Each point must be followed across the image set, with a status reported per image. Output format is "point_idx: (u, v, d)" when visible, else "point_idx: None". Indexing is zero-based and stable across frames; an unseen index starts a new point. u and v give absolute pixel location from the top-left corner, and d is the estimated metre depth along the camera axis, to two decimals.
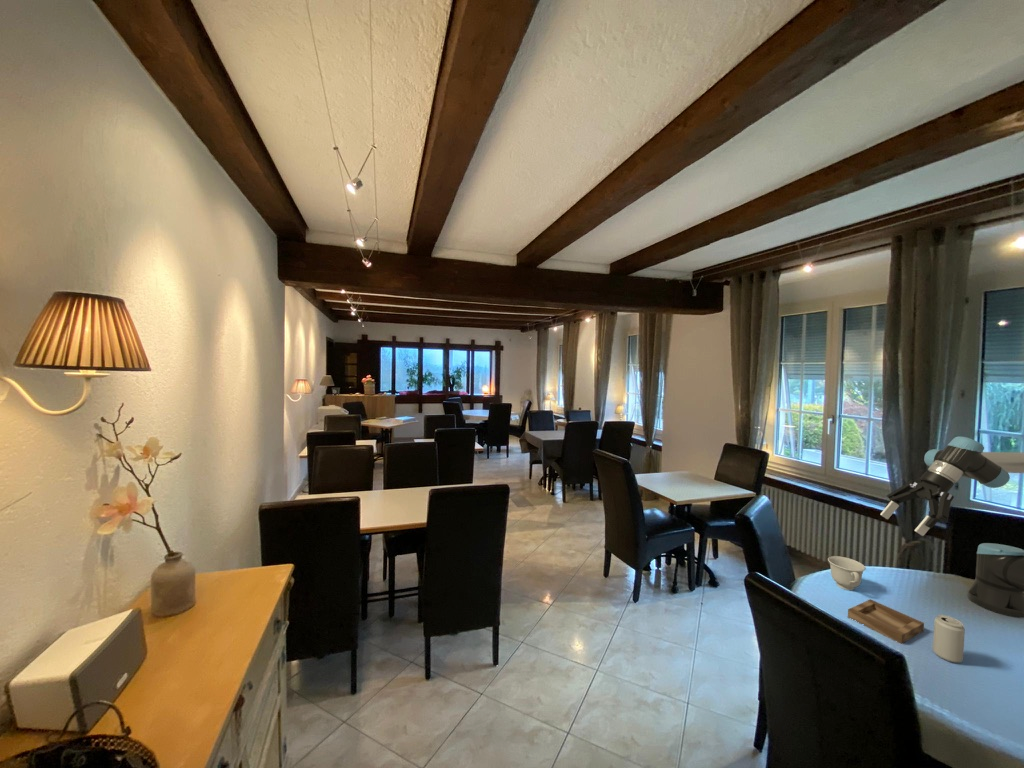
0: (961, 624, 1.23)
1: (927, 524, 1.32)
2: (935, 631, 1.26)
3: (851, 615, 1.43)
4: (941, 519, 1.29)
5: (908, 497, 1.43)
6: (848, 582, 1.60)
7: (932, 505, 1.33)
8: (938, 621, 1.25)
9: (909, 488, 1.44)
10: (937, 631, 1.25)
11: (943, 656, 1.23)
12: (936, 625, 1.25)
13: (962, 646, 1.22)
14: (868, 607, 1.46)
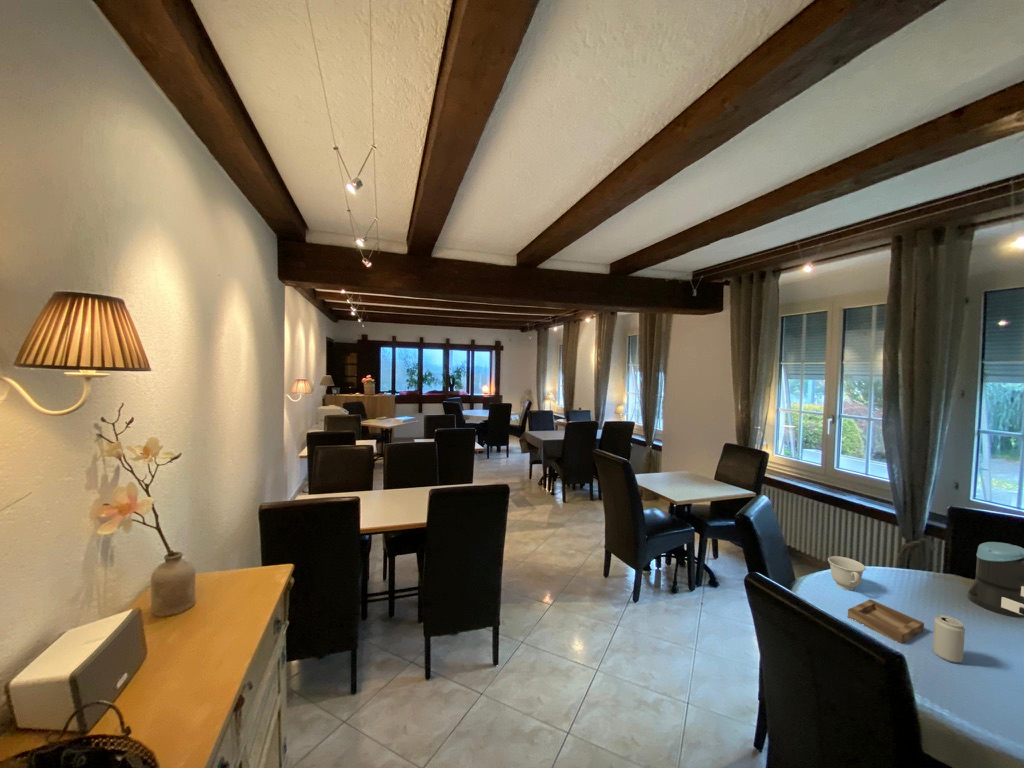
0: (961, 624, 1.23)
1: None
2: (935, 631, 1.26)
3: (851, 615, 1.43)
4: None
5: None
6: (848, 582, 1.60)
7: None
8: (938, 621, 1.25)
9: None
10: (937, 631, 1.25)
11: (943, 656, 1.23)
12: (936, 624, 1.25)
13: (962, 646, 1.22)
14: (868, 607, 1.46)
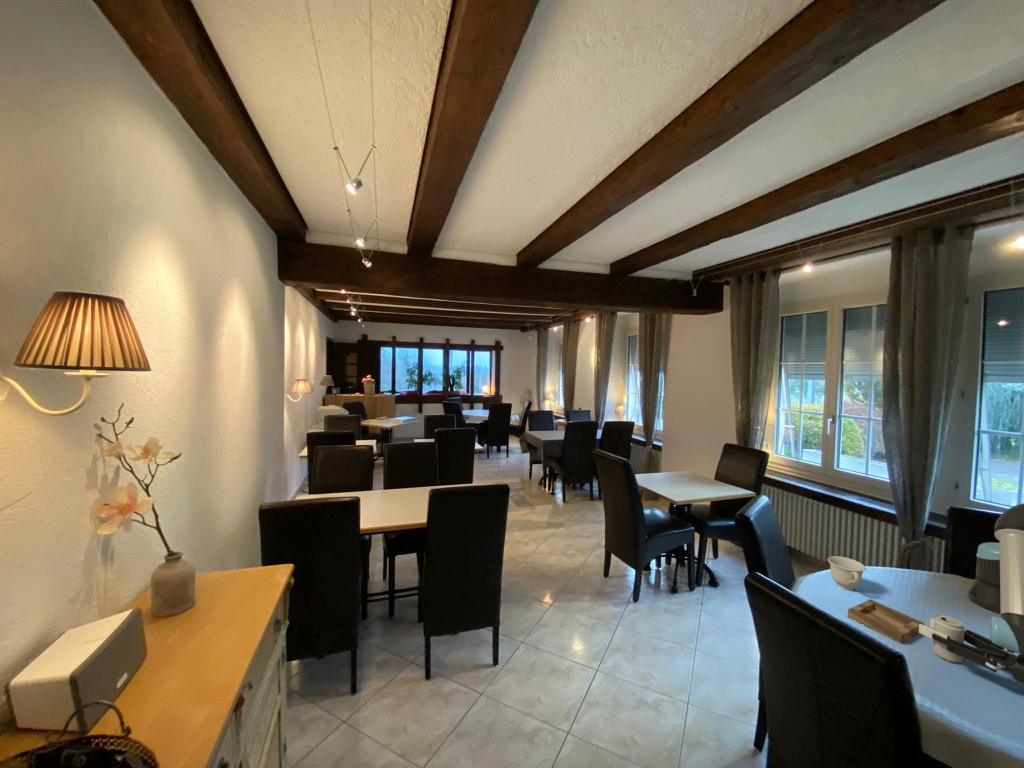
0: (961, 624, 1.23)
1: None
2: None
3: (851, 615, 1.43)
4: None
5: None
6: (848, 582, 1.60)
7: None
8: (938, 621, 1.25)
9: None
10: (937, 631, 1.25)
11: (943, 656, 1.23)
12: (935, 624, 1.25)
13: None
14: (868, 607, 1.46)
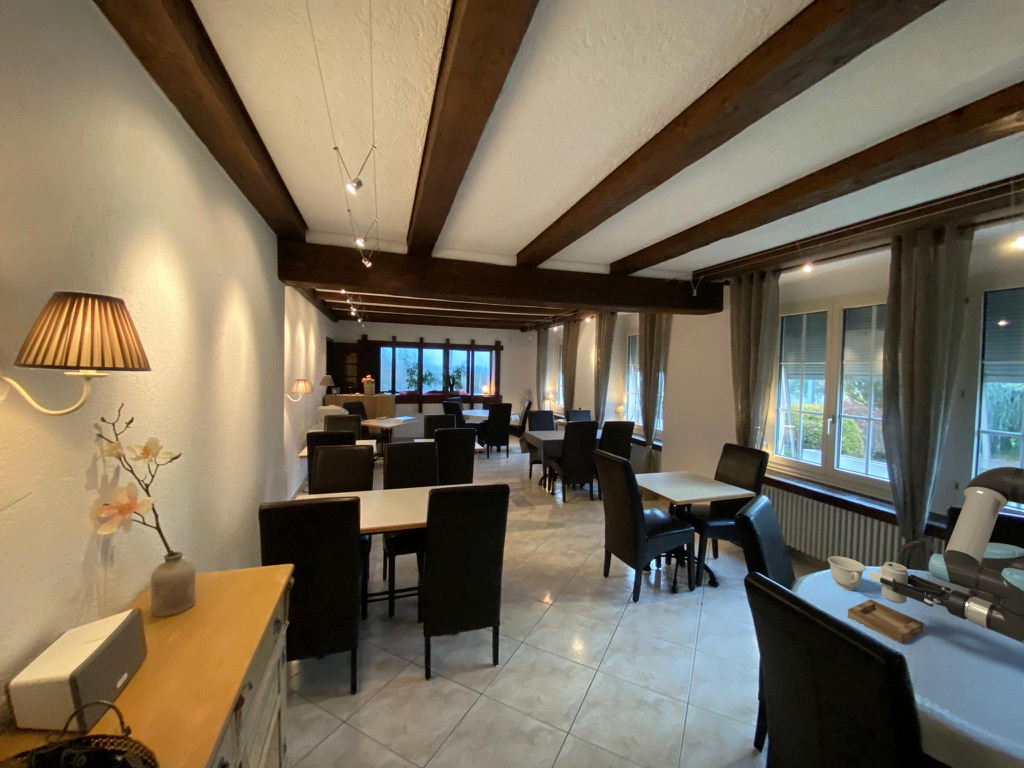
0: (905, 568, 1.35)
1: None
2: None
3: (851, 615, 1.43)
4: None
5: None
6: (848, 582, 1.60)
7: None
8: (885, 567, 1.37)
9: None
10: (885, 575, 1.37)
11: (890, 598, 1.36)
12: (883, 570, 1.38)
13: None
14: (868, 607, 1.46)
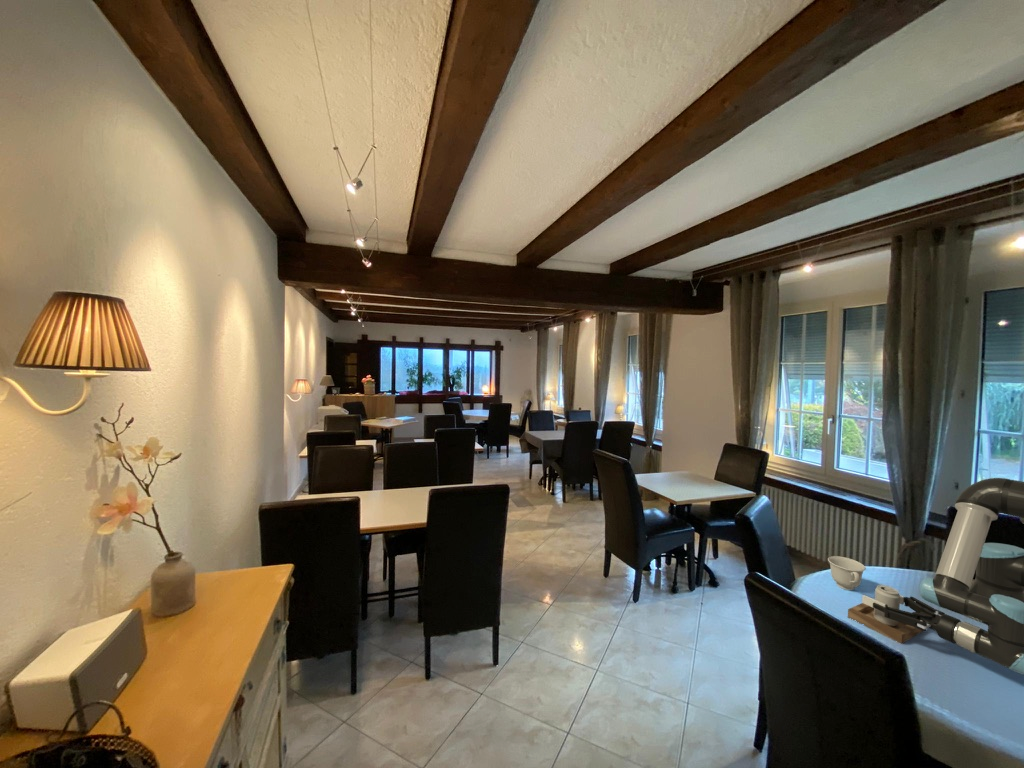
0: (897, 592, 1.38)
1: None
2: (875, 599, 1.41)
3: (851, 615, 1.43)
4: None
5: None
6: (848, 582, 1.60)
7: None
8: (878, 590, 1.40)
9: None
10: (877, 598, 1.40)
11: (882, 621, 1.39)
12: (876, 593, 1.41)
13: None
14: (868, 607, 1.46)
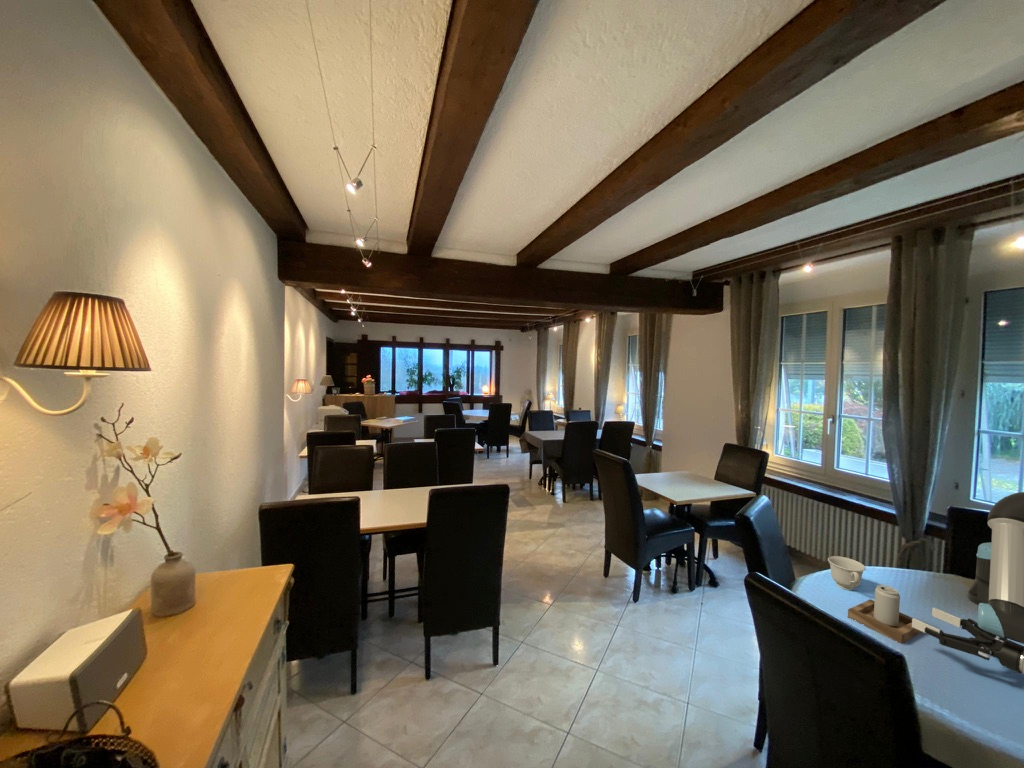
0: (897, 592, 1.38)
1: None
2: (875, 599, 1.41)
3: (851, 615, 1.43)
4: None
5: None
6: (848, 582, 1.60)
7: None
8: (878, 590, 1.40)
9: None
10: (877, 598, 1.40)
11: (882, 621, 1.39)
12: (876, 593, 1.41)
13: (897, 611, 1.37)
14: (868, 607, 1.46)
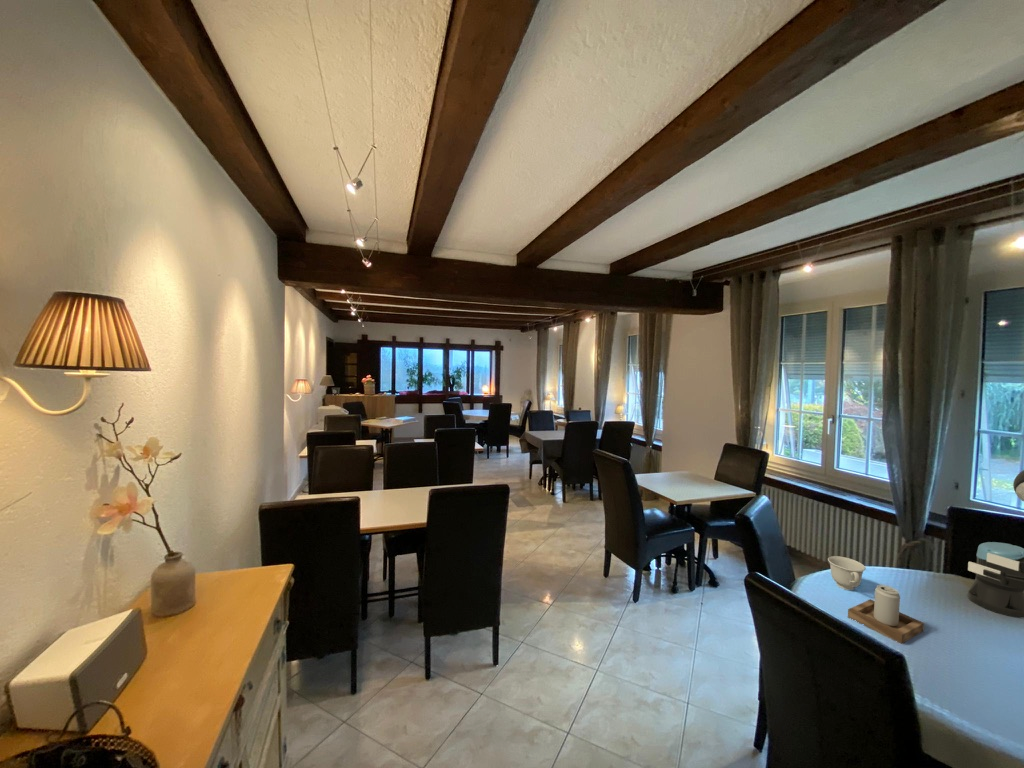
0: (897, 592, 1.38)
1: None
2: (875, 599, 1.41)
3: (851, 615, 1.43)
4: None
5: None
6: (848, 582, 1.60)
7: None
8: (878, 590, 1.40)
9: None
10: (877, 598, 1.40)
11: (882, 621, 1.39)
12: (876, 593, 1.41)
13: (897, 611, 1.37)
14: (868, 607, 1.46)
